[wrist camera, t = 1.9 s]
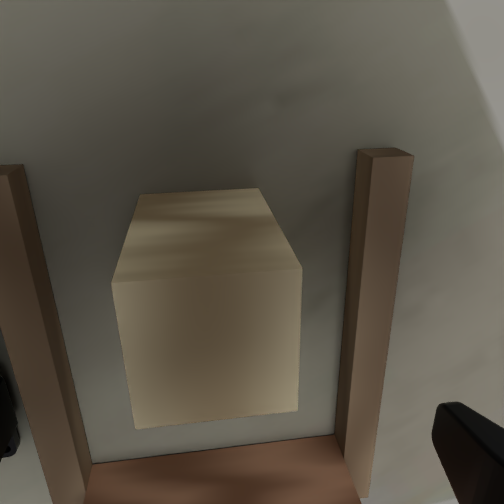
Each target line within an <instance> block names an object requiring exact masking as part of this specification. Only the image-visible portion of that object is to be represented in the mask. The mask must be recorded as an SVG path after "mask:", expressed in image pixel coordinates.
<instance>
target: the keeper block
mask: <svg viewBox="0 0 504 504" xmlns="http://www.w3.org/2000/svg"><path fill="white" fill-rule="evenodd" d="M302 271H303V268H302V266H301V265H300V263H299V261H298V259H297V257H296V255H295V254H294V252H293V250H292V248H291V246H290V245H289V243H288V241H287V239H286V237H285V236H284V234H283V232H282V230H281V228H280V226H279V225H278V223H277V221H276V219H275V217H274V216H273V214H272V212H271V210H270V208H269V206H268V205H267V203H266V201H265V199H264V197H263V196H262V194H261V192H260V190H259V188H248V189H230V190H211V191H192V192H174V193H155V194H140V196H139V199H138V202H137V205H136V208H135V211H134V214H133V217H132V220H131V224H130V227H129V230H128V233H127V236H126V239H125V242H124V245H123V248H122V251H121V254H120V257H119V260H118V263H117V266H116V269H115V272H114V275H113V278H112V281H111V287H112V293H113V299H114V305H115V311H116V317H117V323H118V329H119V335H120V341H121V347H122V353H123V359H124V365H125V371H126V377H127V383H128V389H129V395H130V401H131V407H132V413H133V419H134V425H135V430H136V429H145V428H154V427H162V426H171V425H180V424H188V423H197V422H206V421H214V420H223V419H232V418H240V417H249V416H258V415H266V414H275V413H284V412H292V411H298V386H299V358H300V329H301V300H302Z"/></svg>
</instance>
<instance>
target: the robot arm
mask: <svg viewBox="0 0 504 504" xmlns="http://www.w3.org/2000/svg"><path fill="white" fill-rule="evenodd" d="M17 424H18V422H17V418H16V415H15V412H14V409H13V405H12V402H11V399H10V396H9V393H8V389H7V386H6V383H5V380H4V379H3V378H2V377H1V375H0V462H1V459H2V458H4V457H10V456H12V455H14V454H15V453H16V451H17V449H18V446H19V444H20V440H19V437H18V434H17V430H16V426H17ZM432 441H433V445H434V447H435V450H436V452H437V454H438V457H439V459H440V461H441V464H442V466H443V468H444V470H445V473H446V475H447V477H448V480H449V482H450V484H451V487H452V489H453V491H454V494H455V496H456V498H457V500H458V502H459V504H504V428H502V427H500V426H499V425H497V424H496V423H494V422H492V421H491V420H489V419H487V418H486V417H484V416H482V415H481V414H479V413H477V412H476V411H474V410H472V409H471V408H469V407H467V406H466V405H464V404H462V403H460V402H447V403H441V404H439V405H438V407H437V409H436V414H435V419H434V424H433V429H432Z"/></svg>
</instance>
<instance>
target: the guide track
mask: <svg viewBox="0 0 504 504" xmlns="http://www.w3.org/2000/svg"><path fill="white" fill-rule="evenodd" d="M413 161H414V156H413V155H411V154H409V153H407V152H404V151H402V150H400V149H397V148H379V149H358V154H357V166H356V178H355V190H354V202H353V214H352V227H351V239H350V251H349V263H348V275H347V287H346V299H345V312H344V324H343V336H342V348H341V360H340V372H339V385H338V397H337V409H336V421H335V433H334V435H328V436H320V437H311V438H303V439H295V440H287V441H279V442H271V443H263V444H255V445H247V446H239V447H231V448H222V449H214V450H206V451H198V452H190V453H182V454H174V455H166V456H158V457H150V458H141V459H133V460H125V461H117V462H109V463H101V464H93V465H92V461H91V457H90V452H89V448H88V444H87V439H86V435H85V431H84V426H83V422H82V418H81V413H80V409H79V405H78V400H77V396H76V392H75V387H74V383H73V379H72V375H71V370H70V366H69V362H68V357H67V353H66V349H65V344H64V340H63V336H62V331H61V327H60V323H59V318H58V314H57V310H56V305H55V301H54V297H53V292H52V288H51V284H50V279H49V275H48V271H47V266H46V262H45V258H44V253H43V249H42V245H41V240H40V236H39V232H38V227H37V223H36V219H35V214H34V210H33V206H32V201H31V197H30V193H29V188H28V184H27V180H26V175H25V171H24V167H23V164H19V165H0V328H1V331H2V334H3V338H4V341H5V344H6V348H7V351H8V355H9V358H10V361H11V365H12V368H13V371H14V375H15V378H16V381H17V385H18V388H19V391H20V395H21V398H22V402H23V405H24V408H25V412H26V415H27V418H28V422H29V425H30V428H31V432H32V435H33V438H34V442H35V445H36V449H37V452H38V455H39V459H40V462H41V465H42V469H43V472H44V475H45V479H46V482H47V486H48V489H49V492H50V496H51V499H52V502H53V504H361V501H360V498H367V497H368V494H369V487H370V479H371V472H372V464H373V457H374V450H375V442H376V435H377V427H378V420H379V413H380V405H381V398H382V390H383V383H384V376H385V368H386V361H387V354H388V346H389V339H390V331H391V324H392V317H393V309H394V302H395V294H396V287H397V280H398V272H399V265H400V257H401V250H402V243H403V235H404V228H405V220H406V213H407V206H408V198H409V191H410V184H411V176H412V169H413Z"/></svg>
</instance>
